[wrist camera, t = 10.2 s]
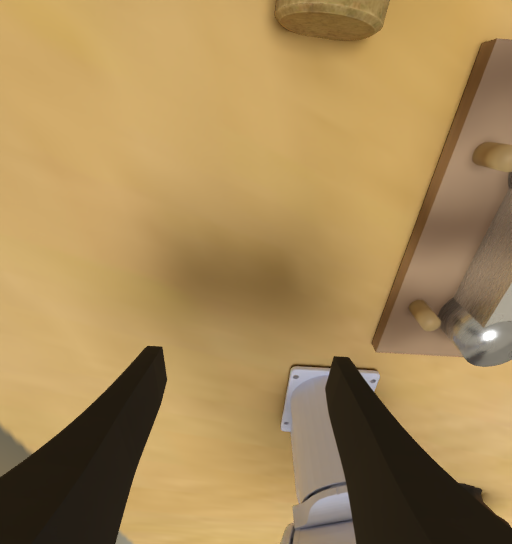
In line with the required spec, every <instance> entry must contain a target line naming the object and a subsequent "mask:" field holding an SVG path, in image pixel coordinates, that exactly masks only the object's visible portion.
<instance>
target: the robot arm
mask: <svg viewBox="0 0 512 544" xmlns="http://www.w3.org/2000/svg"><path fill="white" fill-rule="evenodd" d="M379 379H380V375H379V372H378V371H373V370H358V369H357V368H356V367H355V365H354V364H353V362H352V361H351V360H350V358H349V357H335V356H334V358H333V362H332V365H331V368H319V367H301V366H295V367H292V368H291V370H290V376H289V382H288V387H287V393H286V398H285V404H284V409H283V415H282V420H281V430H282V431H286V432H291V443H292V454H293V465H294V476H295V487H296V494H297V499H298V502H299V504H298V505H294V506H293V518H294V523H291V524H289V525H288V526H287V527H286V529H285V531H284V533H283V537H282V540H281V542H280V544H512V528H511V527H509V526H508V525H507V524H506V523H504V522H503V521H502V520H500V519H499V518H498V517H497V516H496V515H494V514H493V513H492V512H491V511H490V510H488V509H487V508H486V507H485V506H484V505H483V504H481V503H480V502H479V501H478V500H477V499H475V498H474V497H473V496H472V495H471V494H470V493H469V492H467V491H466V490H465V489H464V488H463V487H462V486H461V485H460V484H459V483H458V482H457V481H455V480H454V479H453V478H452V477H451V476H450V475H449V474H448V473H447V472H446V471H445V470H444V469H442V468H441V467H440V466H439V465H438V464H437V463H436V462H435V461H434V460H433V459H432V458H431V457H430V456H429V455H428V454H427V453H426V452H425V451H424V450H423V449H422V448H421V447H420V446H419V445H418V443H417V442H416V441H415V440H414V439H413V438H412V437H411V436H410V435H409V434H408V433H407V431H406V430H405V429H404V428H403V427H402V426H401V425H400V423H399V422H398V421H397V420H396V419H395V418H394V416H393V415H392V414H391V413H390V412H389V410H388V409H387V408H386V407H385V405H384V404H383V403H382V402H381V400H380V399H379V398H378V396H377V395H376V394H375V393H374V390H375V388H376V386H377V383H378V381H379ZM166 382H167V376H166V369H165V362H164V355H163V349H162V347H157V346H147V347H146V348H145V349H144V350H143V351H142V352H141V353H140V354H139V355H138V357H137V358H136V359H135V360H134V361H133V362H132V363H131V364H130V366H129V367H128V368H127V369H126V370H125V371H124V372H123V373H122V374H121V375H120V376H119V377H118V378H117V379H116V381H115V382H114V383H113V384H112V385H111V386H110V387H109V388H108V389H107V390H106V391H105V392H104V393H103V394H102V395H101V396H100V397H99V398H98V399H97V400H96V401H94V402H93V403H92V404H91V405H90V406H89V407H88V408H87V409H86V410H85V411H84V412H83V413H82V414H81V415H79V416H78V417H77V418H76V419H75V420H74V421H73V422H72V423H70V424H69V425H68V426H67V427H66V428H64V429H63V430H62V431H61V432H60V433H59V434H57V435H56V436H55V437H54V438H52V439H51V440H50V441H49V442H47V443H46V444H45V445H43V446H42V447H41V448H40V449H38V450H37V451H36V452H35V453H33V454H32V455H31V456H29V457H28V458H27V459H25V460H24V461H23V462H21V463H20V464H18V465H17V466H15V467H14V468H13V469H11V470H10V471H8V472H7V473H6V474H4V475H3V476H1V477H0V544H115V543H116V539H117V535H118V531H119V528H120V524H121V520H122V517H123V513H124V509H125V506H126V502H127V499H128V495H129V492H130V488H131V485H132V481H133V478H134V475H135V472H136V469H137V466H138V463H139V460H140V458H141V455H142V452H143V450H144V447H145V444H146V442H147V439H148V437H149V434H150V431H151V429H152V426H153V424H154V421H155V418H156V416H157V413H158V410H159V408H160V405H161V401H162V398H163V394H164V390H165V386H166Z"/></svg>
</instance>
